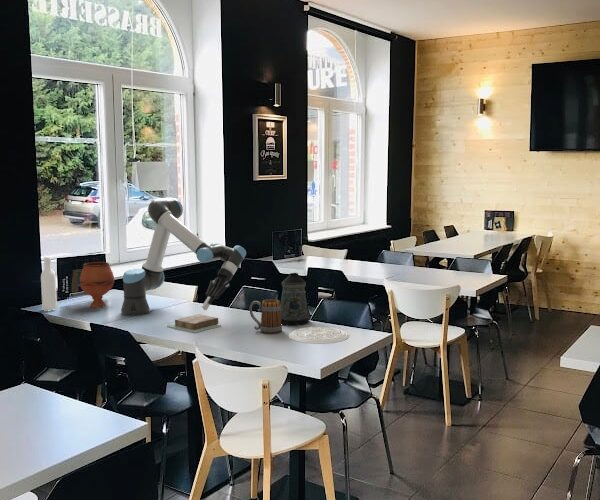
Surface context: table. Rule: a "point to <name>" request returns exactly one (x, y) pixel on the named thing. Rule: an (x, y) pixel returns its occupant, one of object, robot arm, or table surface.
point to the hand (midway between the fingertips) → (204, 308)
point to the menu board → (196, 321)
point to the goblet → (96, 281)
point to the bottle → (48, 286)
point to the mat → (192, 329)
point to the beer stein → (294, 301)
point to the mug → (268, 316)
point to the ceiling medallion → (318, 335)
